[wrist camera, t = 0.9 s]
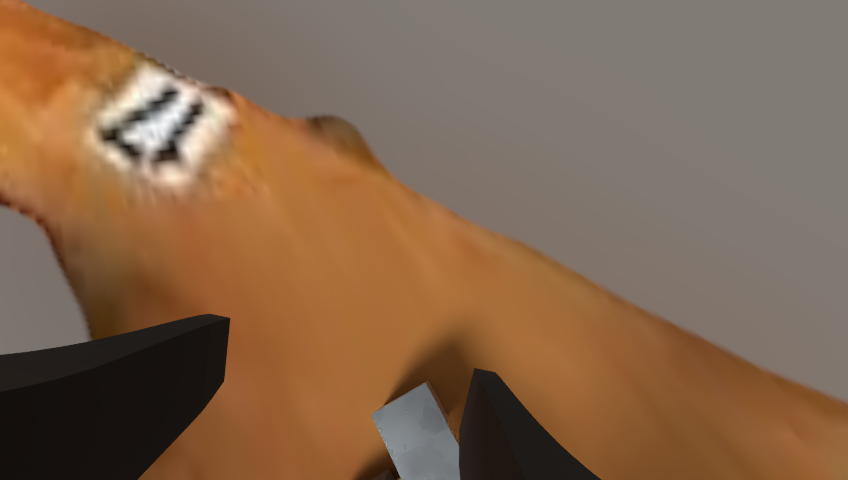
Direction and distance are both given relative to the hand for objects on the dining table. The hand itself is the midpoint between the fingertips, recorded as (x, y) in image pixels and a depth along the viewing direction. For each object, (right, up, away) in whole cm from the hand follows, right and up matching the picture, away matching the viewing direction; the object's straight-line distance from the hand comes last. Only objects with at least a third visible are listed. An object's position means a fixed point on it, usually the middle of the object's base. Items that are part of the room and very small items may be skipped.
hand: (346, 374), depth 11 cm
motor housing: (+4, -13, +18) cm, 22 cm away
